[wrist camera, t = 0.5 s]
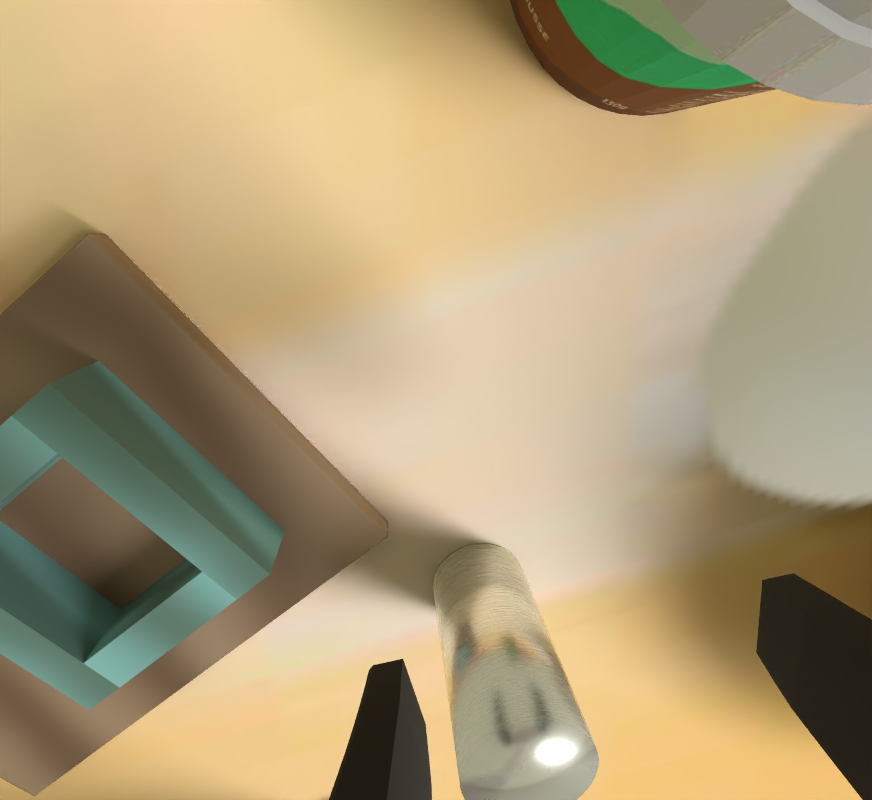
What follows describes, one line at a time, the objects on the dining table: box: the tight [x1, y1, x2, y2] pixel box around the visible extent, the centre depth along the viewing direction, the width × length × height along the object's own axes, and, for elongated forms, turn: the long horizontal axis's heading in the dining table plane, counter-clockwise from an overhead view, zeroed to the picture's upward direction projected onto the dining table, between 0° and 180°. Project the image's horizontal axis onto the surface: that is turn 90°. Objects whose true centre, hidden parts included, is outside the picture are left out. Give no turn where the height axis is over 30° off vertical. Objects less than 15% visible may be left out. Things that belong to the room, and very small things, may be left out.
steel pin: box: [433, 544, 599, 800], centre depth 18 cm, size 4×4×8 cm
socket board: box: [0, 235, 388, 796], centre depth 17 cm, size 20×14×4 cm
